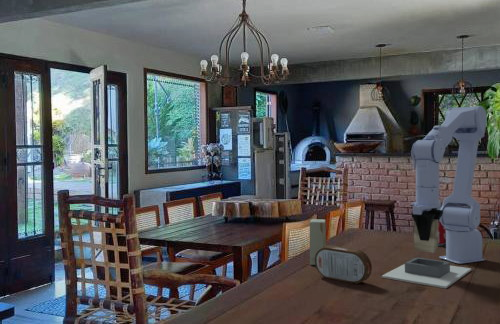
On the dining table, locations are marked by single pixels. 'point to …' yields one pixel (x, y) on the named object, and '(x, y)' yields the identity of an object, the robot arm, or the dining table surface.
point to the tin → (343, 264)
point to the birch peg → (427, 245)
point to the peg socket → (428, 272)
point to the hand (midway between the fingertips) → (427, 238)
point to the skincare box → (317, 237)
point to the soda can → (441, 233)
